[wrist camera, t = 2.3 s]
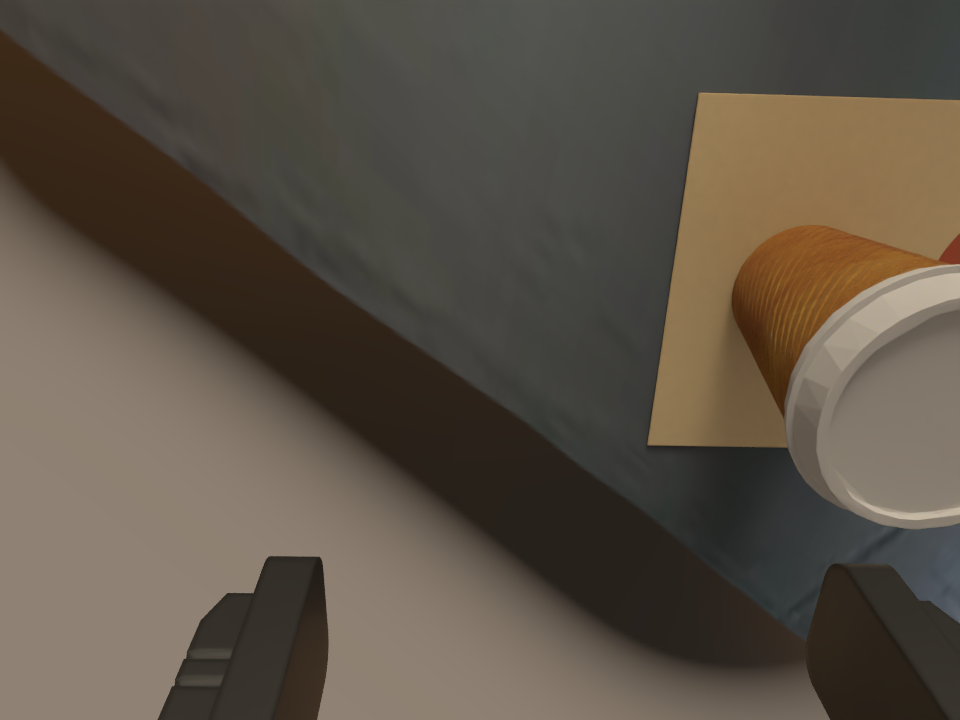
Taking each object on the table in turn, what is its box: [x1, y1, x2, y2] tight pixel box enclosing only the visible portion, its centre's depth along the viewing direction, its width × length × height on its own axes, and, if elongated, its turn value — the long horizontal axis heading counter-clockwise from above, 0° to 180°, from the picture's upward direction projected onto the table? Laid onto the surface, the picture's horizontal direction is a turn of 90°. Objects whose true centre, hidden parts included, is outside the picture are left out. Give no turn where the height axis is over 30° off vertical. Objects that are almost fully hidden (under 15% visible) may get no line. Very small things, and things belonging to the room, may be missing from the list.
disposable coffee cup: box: [732, 225, 960, 529], centre depth 29 cm, size 10×10×12 cm
